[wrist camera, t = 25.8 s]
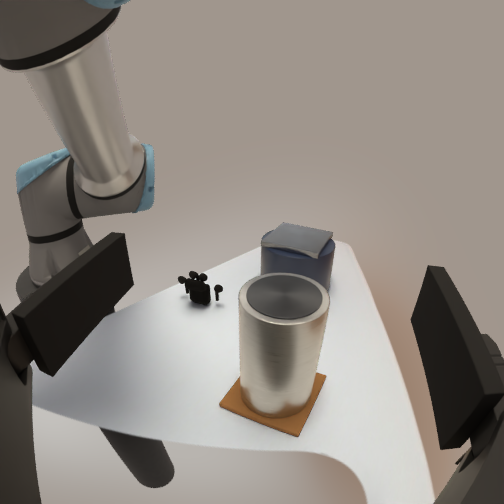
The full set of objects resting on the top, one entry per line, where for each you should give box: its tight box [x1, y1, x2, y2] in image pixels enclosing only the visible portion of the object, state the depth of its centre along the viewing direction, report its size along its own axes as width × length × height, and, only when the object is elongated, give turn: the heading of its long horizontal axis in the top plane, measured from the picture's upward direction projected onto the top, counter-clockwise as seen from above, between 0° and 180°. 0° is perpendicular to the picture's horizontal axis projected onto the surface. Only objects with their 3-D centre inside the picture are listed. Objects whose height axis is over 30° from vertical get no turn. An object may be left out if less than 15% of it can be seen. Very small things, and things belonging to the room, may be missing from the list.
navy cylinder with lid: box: [261, 222, 335, 291], centre depth 48 cm, size 11×11×8 cm
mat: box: [219, 373, 326, 437], centre depth 30 cm, size 8×8×1 cm
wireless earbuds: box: [178, 271, 223, 305], centre depth 43 cm, size 7×2×5 cm, turn 70°
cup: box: [239, 273, 330, 418], centre depth 27 cm, size 7×7×12 cm
